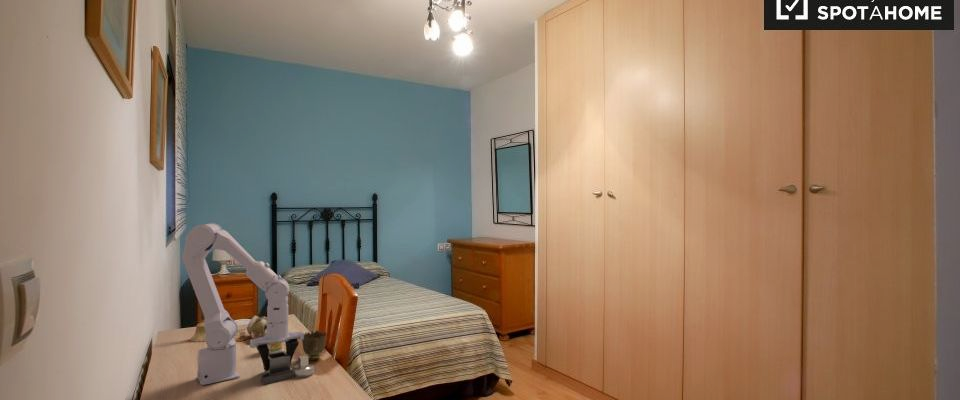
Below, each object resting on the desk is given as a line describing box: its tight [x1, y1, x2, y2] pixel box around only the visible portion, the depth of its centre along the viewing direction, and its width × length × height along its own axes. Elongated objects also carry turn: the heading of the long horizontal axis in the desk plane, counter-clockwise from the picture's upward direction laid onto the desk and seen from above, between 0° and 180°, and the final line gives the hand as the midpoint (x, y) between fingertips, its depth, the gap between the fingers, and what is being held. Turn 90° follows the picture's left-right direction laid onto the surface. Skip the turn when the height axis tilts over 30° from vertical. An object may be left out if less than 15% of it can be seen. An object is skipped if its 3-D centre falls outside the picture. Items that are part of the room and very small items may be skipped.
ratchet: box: [260, 354, 315, 386], centre depth 131 cm, size 14×6×5 cm, turn 129°
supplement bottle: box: [265, 329, 283, 354], centre depth 154 cm, size 5×5×10 cm
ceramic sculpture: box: [246, 315, 267, 340], centre depth 168 cm, size 11×9×15 cm
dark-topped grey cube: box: [264, 350, 291, 374], centre depth 135 cm, size 6×6×5 cm
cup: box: [301, 330, 327, 361], centre depth 147 cm, size 8×7×8 cm
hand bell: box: [189, 304, 206, 343], centre depth 167 cm, size 8×8×16 cm
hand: (277, 367), depth 135 cm, fingers closed on dark-topped grey cube, 6 cm apart
